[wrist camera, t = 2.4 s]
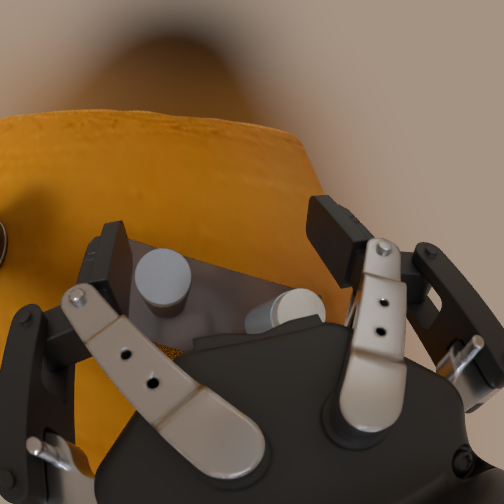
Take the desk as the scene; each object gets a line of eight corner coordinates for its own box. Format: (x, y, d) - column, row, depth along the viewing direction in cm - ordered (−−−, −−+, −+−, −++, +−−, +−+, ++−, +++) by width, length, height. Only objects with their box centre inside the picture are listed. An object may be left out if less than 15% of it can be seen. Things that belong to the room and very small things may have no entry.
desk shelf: (107, 326, 31) (96, 323, 26) (130, 251, 34) (125, 237, 30) (290, 374, 35) (307, 377, 30) (304, 302, 39) (321, 295, 34)
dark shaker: (140, 311, 28) (125, 295, 19) (152, 272, 30) (144, 239, 20) (180, 323, 29) (183, 313, 20) (191, 284, 30) (199, 256, 21)
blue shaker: (240, 339, 30) (271, 336, 21) (249, 300, 31) (282, 280, 22) (278, 347, 31) (322, 346, 22) (285, 310, 32) (330, 294, 23)
